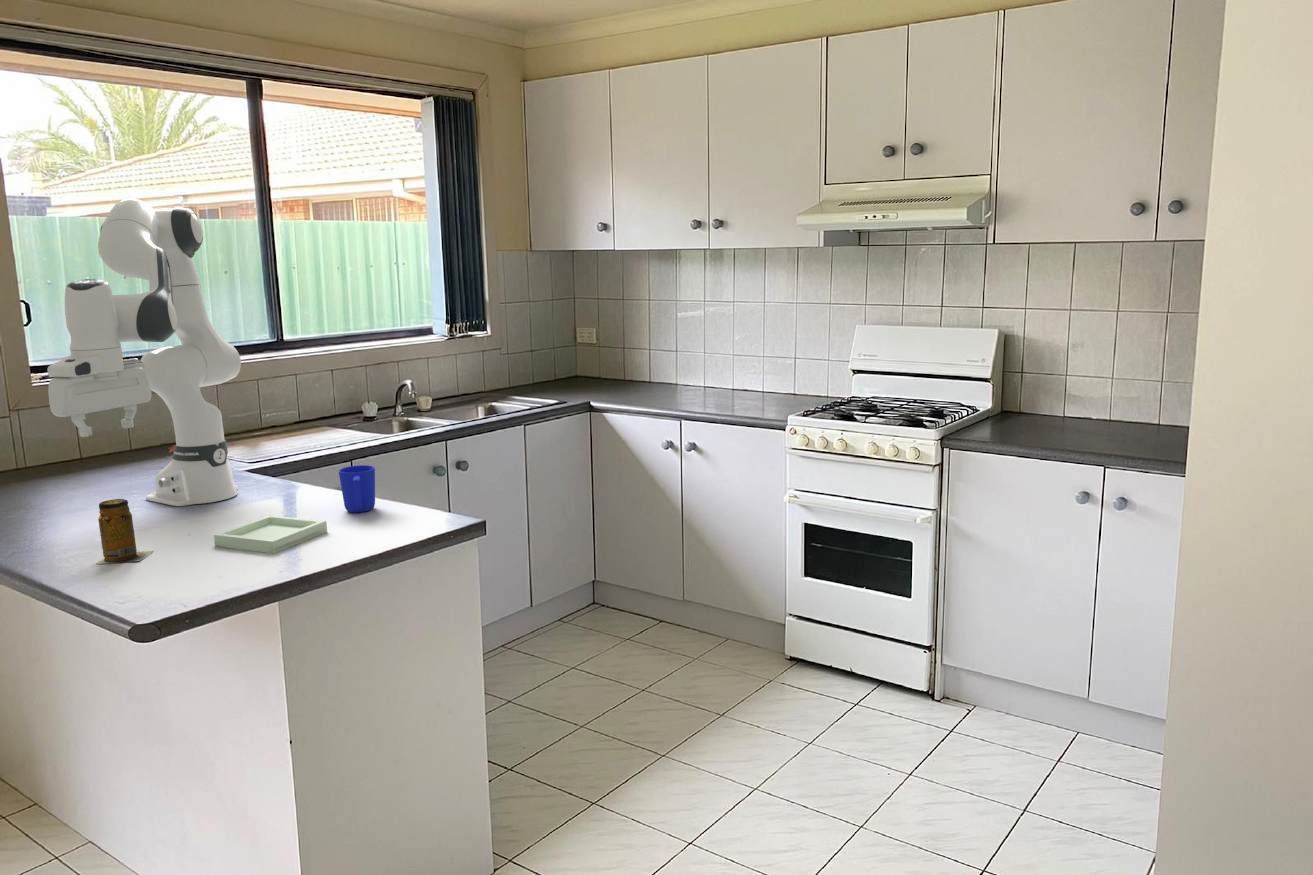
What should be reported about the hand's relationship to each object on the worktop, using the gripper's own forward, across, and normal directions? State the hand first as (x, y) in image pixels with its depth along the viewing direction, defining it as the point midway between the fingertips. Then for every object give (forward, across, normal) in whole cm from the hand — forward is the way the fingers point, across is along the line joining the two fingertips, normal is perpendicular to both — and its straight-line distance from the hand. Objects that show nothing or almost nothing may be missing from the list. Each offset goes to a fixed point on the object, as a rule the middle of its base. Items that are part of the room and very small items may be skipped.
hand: (107, 432), depth 199 cm
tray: (+26, -20, +20) cm, 39 cm away
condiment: (+26, 0, 0) cm, 27 cm away
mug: (+27, -44, +24) cm, 57 cm away
